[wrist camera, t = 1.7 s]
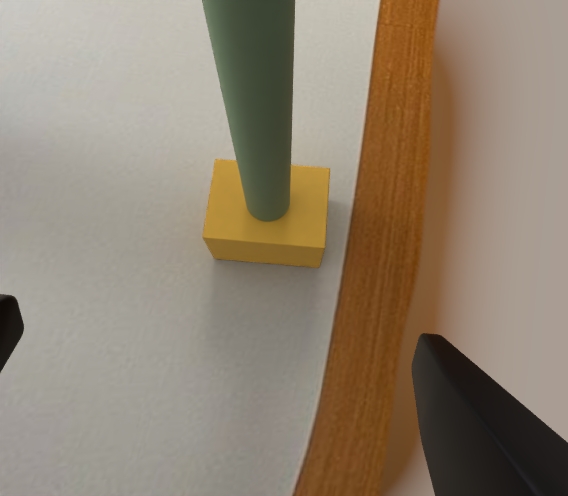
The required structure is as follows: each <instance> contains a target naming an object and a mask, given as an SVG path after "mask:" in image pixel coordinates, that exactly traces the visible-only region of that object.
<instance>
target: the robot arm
mask: <svg viewBox="0 0 568 496" xmlns="http://www.w3.org/2000/svg"><path fill="white" fill-rule="evenodd" d="M23 331H24V324H23V320H22V316H21V313H20V309H19V305H18V302H17V299H16V298H15V297H14V296H12V295H4V294H0V372H1V371H2V369H3V367H4V365H5V364H6V362H7V360H8V359H9V357H10V355H11V354H12V352H13V350H14V349H15V347H16V345H17V343H18V342H19V340H20V338H21V337H22V334H23ZM412 378H413V385H414V392H415V400H416V407H417V414H418V422H419V429H420V435H421V441H422V445H423V450H424V453H425V457H426V461H427V465H428V469H429V473H430V477H431V481H432V485H433V489H434V492H435V496H568V443H567V442H566V441H565V440H564V439H563V438H561V437H560V436H559V435H558V434H556V432H554V431H553V430H552V429H551V428H550V427H548V426H547V425H546V424H545V423H544V422H543V421H541V420H540V419H539V418H538V417H537V416H536V415H534V414H533V413H532V412H531V411H530V410H528V409H527V408H526V407H525V406H524V405H523V404H521V403H520V402H519V401H518V400H517V399H516V398H514V397H513V396H512V395H511V394H510V393H508V392H507V391H506V390H505V389H503V388H502V387H501V386H500V385H499V384H498V383H497V382H495V381H494V380H493V379H492V378H491V377H490V376H488V375H487V374H486V373H485V372H484V371H483V370H481V369H480V368H479V367H478V366H477V365H475V364H474V363H473V362H472V361H470V359H468V358H467V357H466V356H465V355H464V354H462V353H461V352H460V351H459V350H458V349H457V348H455V347H454V346H453V345H452V344H451V343H450V342H448V341H447V340H446V339H445V338H444V337H442V336H441V335H437V334H427V333H426V334H425V333H423V334H421V335H420V337H419V339H418V343H417V346H416V350H415V354H414V358H413V362H412Z"/></svg>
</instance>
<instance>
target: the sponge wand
mask: <svg viewBox="0 0 568 496" xmlns="http://www.w3.org/2000/svg"><path fill="white" fill-rule="evenodd" d="M202 3H203V7H204V12H205V17H206V21H207V26H208V31H209V35H210V40H211V44H212V49H213V54H214V58H215V63H216V67H217V72H218V77H219V81H220V86H221V91H222V95H223V100H224V104H225V109H226V114H227V118H228V123H229V127H230V132H231V137H232V141H233V146H234V151H235V155H236V160H237V161H235V160H223V159H215V164H214V170H213V176H212V182H211V188H210V194H209V201H208V207H207V213H206V219H205V225H204V232H203V239H204V241H205V243H206V244H207V246H208V248H209V250H210V252H211V253H212V255H213V257H214V258H215V259H224V260H235V261H247V262H258V263H269V264H281V265H292V266H304V267H315V268H319V267H320V263H321V260H322V256H323V253H324V250H325V241H326V226H327V210H328V195H329V179H330V168H323V167H310V166H298V165H291V141H292V102H293V62H294V23H295V0H202Z"/></svg>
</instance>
